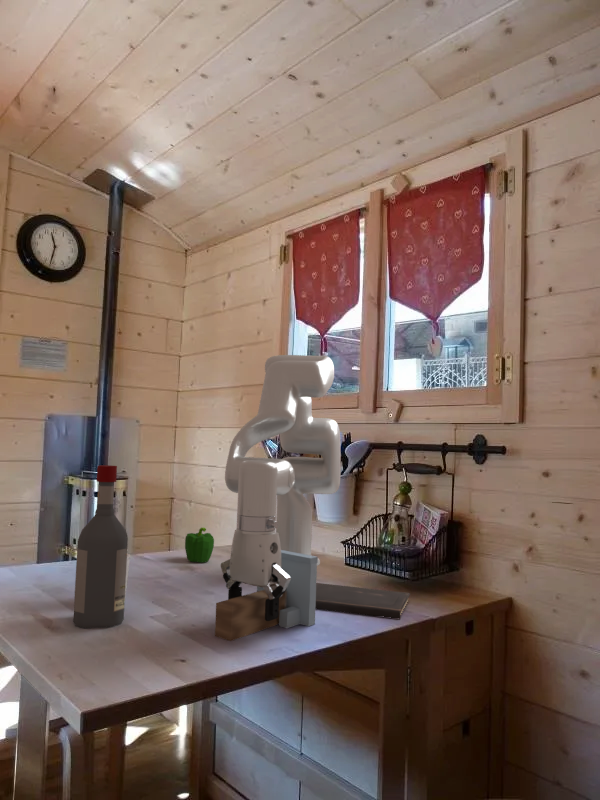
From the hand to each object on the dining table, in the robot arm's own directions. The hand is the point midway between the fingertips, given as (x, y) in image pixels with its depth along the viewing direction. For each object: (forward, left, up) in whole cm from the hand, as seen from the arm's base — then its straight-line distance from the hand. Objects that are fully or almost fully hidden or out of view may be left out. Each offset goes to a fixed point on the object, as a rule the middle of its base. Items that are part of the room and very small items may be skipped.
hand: (252, 614), depth 117 cm
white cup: (+9, -34, -3) cm, 35 cm away
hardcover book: (-30, +4, -4) cm, 30 cm away
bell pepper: (-34, -53, -3) cm, 63 cm away
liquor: (+18, -24, -3) cm, 30 cm away
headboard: (-8, 0, -3) cm, 8 cm away
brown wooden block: (0, 0, -3) cm, 3 cm away
